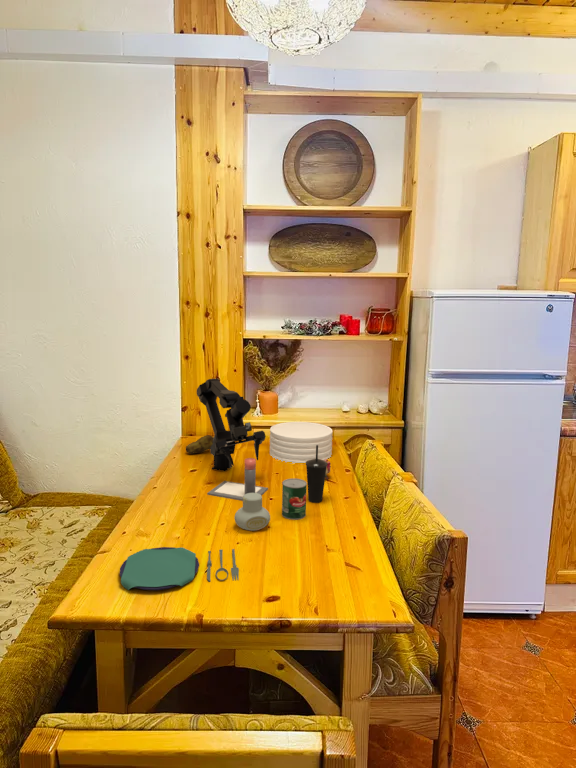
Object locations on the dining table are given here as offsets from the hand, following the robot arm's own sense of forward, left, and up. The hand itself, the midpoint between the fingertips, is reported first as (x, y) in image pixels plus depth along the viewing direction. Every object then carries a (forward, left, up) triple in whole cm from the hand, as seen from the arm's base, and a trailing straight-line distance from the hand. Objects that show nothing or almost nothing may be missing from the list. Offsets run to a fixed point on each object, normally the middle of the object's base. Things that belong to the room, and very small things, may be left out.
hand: (245, 462), depth 186 cm
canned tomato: (+25, -15, -10) cm, 31 cm away
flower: (+23, +20, -10) cm, 32 cm away
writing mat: (0, -5, -9) cm, 11 cm away
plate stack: (+6, +46, -10) cm, 48 cm away
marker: (+6, -8, -9) cm, 13 cm away
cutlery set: (+9, -58, -10) cm, 60 cm away
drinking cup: (+28, -1, -10) cm, 29 cm away
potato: (-35, +29, -10) cm, 47 cm away
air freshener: (+16, -28, -10) cm, 34 cm away
